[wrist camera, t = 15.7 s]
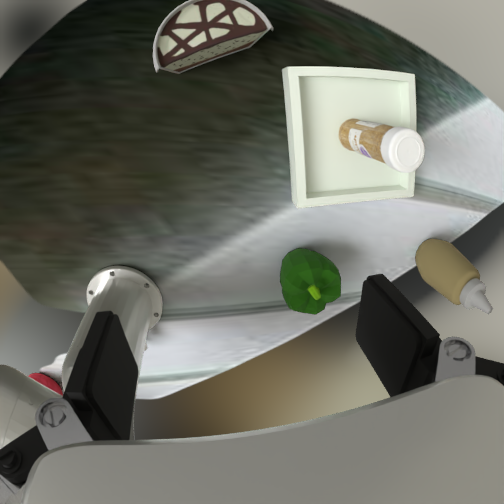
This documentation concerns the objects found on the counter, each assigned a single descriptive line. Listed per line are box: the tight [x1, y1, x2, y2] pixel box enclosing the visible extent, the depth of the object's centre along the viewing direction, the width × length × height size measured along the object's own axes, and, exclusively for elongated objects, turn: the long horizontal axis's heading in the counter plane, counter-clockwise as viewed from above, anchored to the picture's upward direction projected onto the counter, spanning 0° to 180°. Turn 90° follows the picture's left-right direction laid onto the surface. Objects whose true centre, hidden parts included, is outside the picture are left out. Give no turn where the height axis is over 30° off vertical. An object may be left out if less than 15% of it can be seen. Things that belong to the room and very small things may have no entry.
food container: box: [153, 0, 273, 74], centre depth 27 cm, size 12×6×10 cm, turn 110°
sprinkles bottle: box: [339, 119, 425, 173], centre depth 32 cm, size 5×5×14 cm
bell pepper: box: [280, 248, 341, 314], centre depth 42 cm, size 8×8×10 cm
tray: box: [282, 66, 416, 209], centre depth 37 cm, size 18×18×3 cm
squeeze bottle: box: [415, 239, 492, 314], centre depth 41 cm, size 8×8×18 cm
